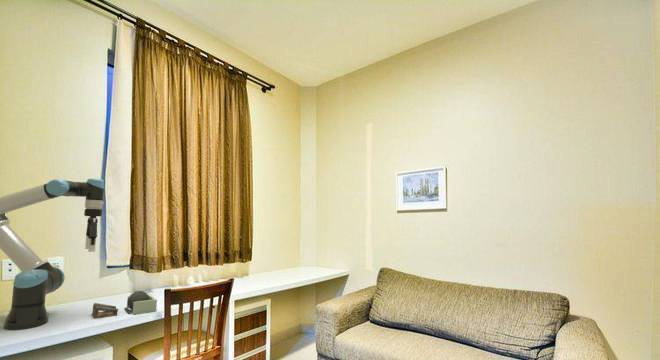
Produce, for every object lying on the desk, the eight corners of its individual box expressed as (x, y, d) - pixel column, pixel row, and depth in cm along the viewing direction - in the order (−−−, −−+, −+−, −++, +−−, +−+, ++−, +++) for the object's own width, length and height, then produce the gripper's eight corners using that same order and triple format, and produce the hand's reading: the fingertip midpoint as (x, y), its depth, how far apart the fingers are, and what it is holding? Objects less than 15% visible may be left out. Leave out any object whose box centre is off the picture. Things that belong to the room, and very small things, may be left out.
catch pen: (133, 314, 177) (134, 302, 178) (126, 307, 189) (127, 296, 189) (156, 311, 184) (156, 299, 185) (148, 304, 196) (149, 293, 196)
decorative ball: (148, 288, 193) (147, 306, 192) (127, 290, 187) (126, 309, 187) (150, 292, 184) (149, 311, 183) (128, 293, 179) (127, 314, 178)
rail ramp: (94, 318, 169) (95, 306, 170) (91, 314, 176) (92, 302, 177) (118, 315, 176) (119, 303, 176) (115, 311, 183) (116, 299, 183)
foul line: (128, 314, 178) (128, 312, 178) (124, 309, 186) (124, 307, 186) (131, 313, 179) (131, 312, 179) (126, 308, 187) (126, 307, 187)
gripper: (106, 209, 174) (102, 252, 172) (98, 208, 193) (95, 247, 191) (87, 208, 169) (83, 253, 167) (82, 208, 188) (78, 248, 186)
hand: (89, 250), depth 179 cm, fingers open, 13 cm apart
